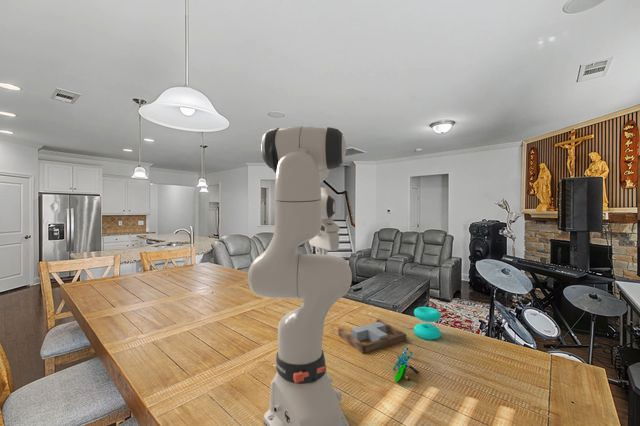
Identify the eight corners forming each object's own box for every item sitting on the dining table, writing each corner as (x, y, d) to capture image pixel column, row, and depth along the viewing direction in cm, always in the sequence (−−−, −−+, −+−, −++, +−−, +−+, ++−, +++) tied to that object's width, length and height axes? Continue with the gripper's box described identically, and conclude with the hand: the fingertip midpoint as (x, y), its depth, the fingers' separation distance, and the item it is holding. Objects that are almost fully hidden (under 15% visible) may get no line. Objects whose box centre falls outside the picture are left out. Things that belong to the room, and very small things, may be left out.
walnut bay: (406, 340, 106) (406, 334, 106) (362, 353, 97) (362, 346, 97) (378, 325, 121) (378, 319, 121) (338, 335, 111) (338, 328, 111)
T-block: (398, 340, 106) (398, 331, 106) (368, 349, 100) (368, 339, 100) (379, 330, 116) (379, 321, 116) (351, 337, 109) (351, 328, 109)
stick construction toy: (393, 354, 92) (407, 341, 89) (411, 368, 91) (426, 355, 87) (387, 385, 82) (402, 371, 78) (407, 401, 80) (424, 388, 77)
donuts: (446, 312, 108) (425, 316, 105) (446, 338, 108) (425, 342, 105) (428, 304, 117) (408, 307, 114) (428, 328, 118) (408, 331, 114)
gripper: (305, 225, 126) (305, 255, 126) (327, 227, 108) (328, 263, 108) (318, 224, 129) (318, 254, 129) (341, 227, 111) (341, 262, 111)
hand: (322, 258), depth 119 cm, fingers closed
